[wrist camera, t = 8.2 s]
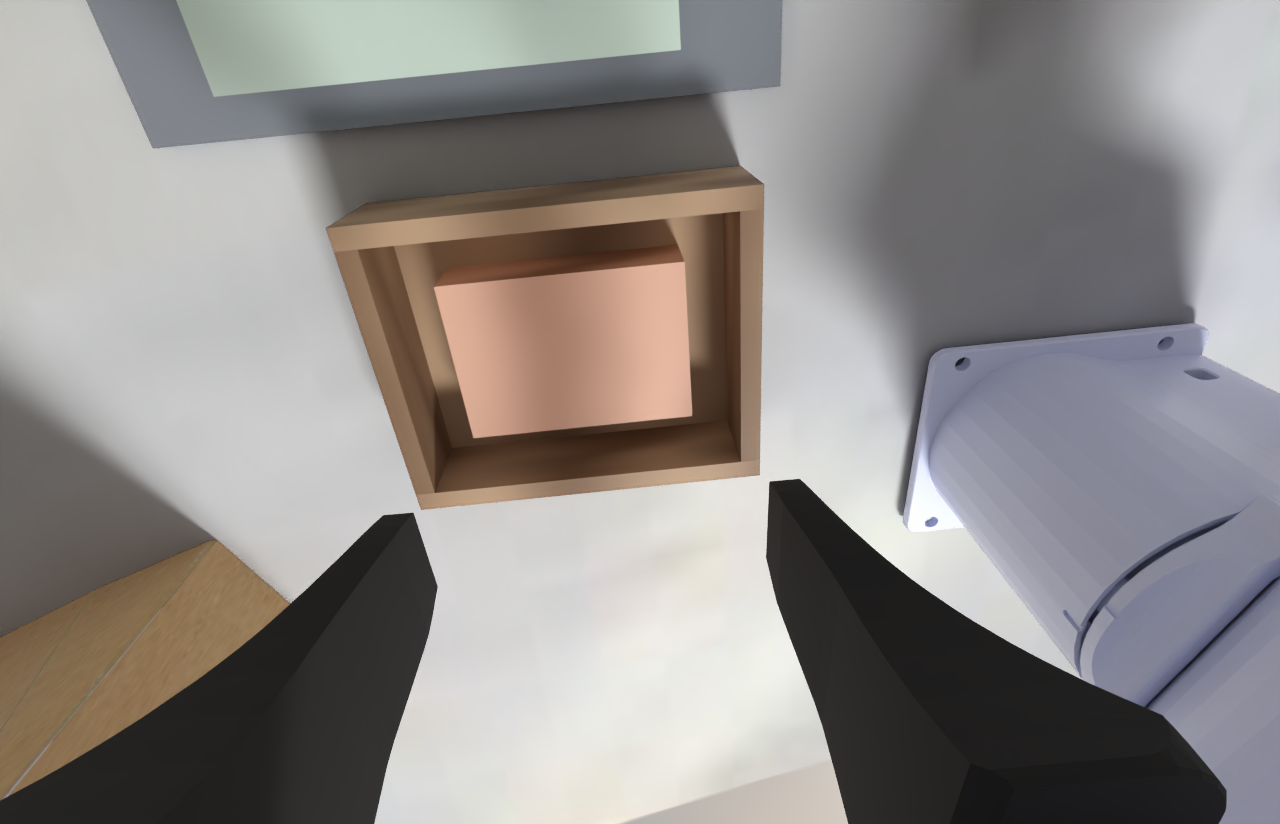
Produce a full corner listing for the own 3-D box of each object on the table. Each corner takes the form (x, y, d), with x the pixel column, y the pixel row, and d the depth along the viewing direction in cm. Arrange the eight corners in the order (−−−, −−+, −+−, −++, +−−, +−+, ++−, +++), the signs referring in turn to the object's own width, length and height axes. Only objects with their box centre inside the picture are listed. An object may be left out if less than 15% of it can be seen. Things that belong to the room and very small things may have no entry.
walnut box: (740, 166, 18) (764, 184, 15) (741, 427, 22) (759, 475, 20) (365, 203, 18) (325, 228, 15) (441, 457, 22) (421, 509, 20)
